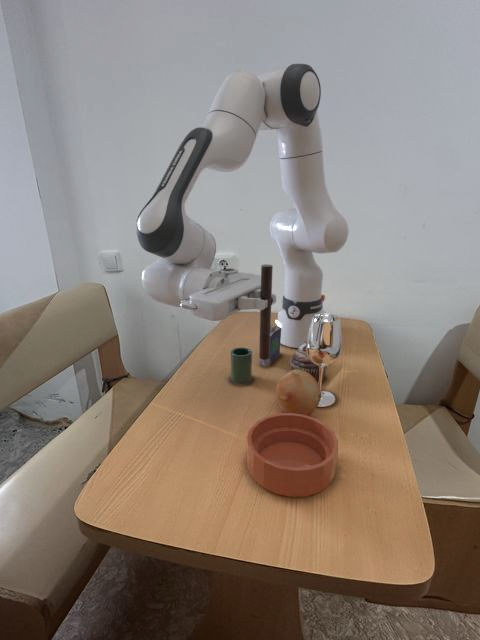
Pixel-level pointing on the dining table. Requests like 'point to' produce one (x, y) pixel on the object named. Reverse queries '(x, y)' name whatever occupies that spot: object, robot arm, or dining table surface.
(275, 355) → the blue box
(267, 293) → the stick
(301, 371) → the onion
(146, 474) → the dining table surface
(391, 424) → the dining table surface
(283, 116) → the robot arm
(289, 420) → the bowl
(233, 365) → the holder
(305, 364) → the cupcake
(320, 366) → the wineglass
